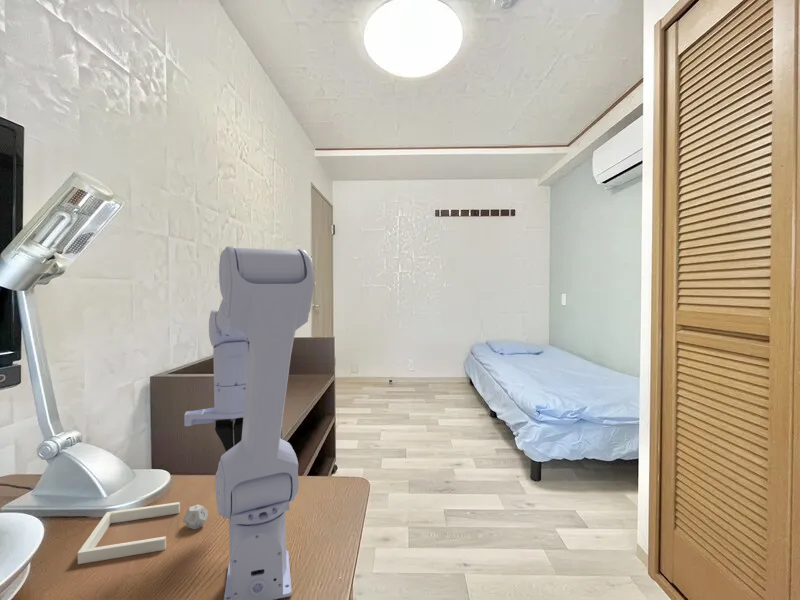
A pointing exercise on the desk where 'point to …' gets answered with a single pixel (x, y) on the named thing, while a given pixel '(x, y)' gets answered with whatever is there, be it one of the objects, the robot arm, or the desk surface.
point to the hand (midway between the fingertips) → (234, 463)
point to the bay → (129, 548)
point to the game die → (195, 516)
